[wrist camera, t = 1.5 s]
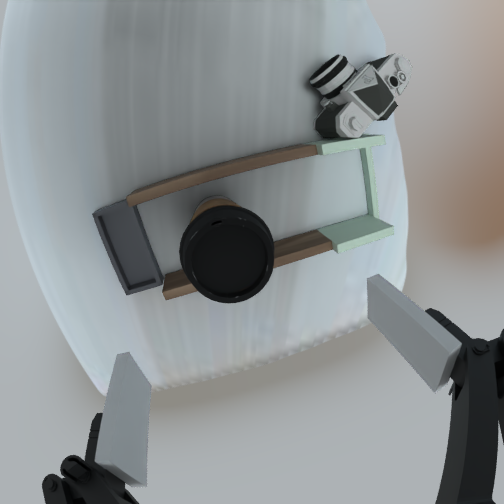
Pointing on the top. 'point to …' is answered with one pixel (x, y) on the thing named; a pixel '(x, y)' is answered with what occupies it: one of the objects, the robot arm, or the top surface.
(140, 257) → the tray
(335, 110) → the camera
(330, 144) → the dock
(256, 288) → the coffee cup
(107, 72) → the top surface
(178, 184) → the channel
